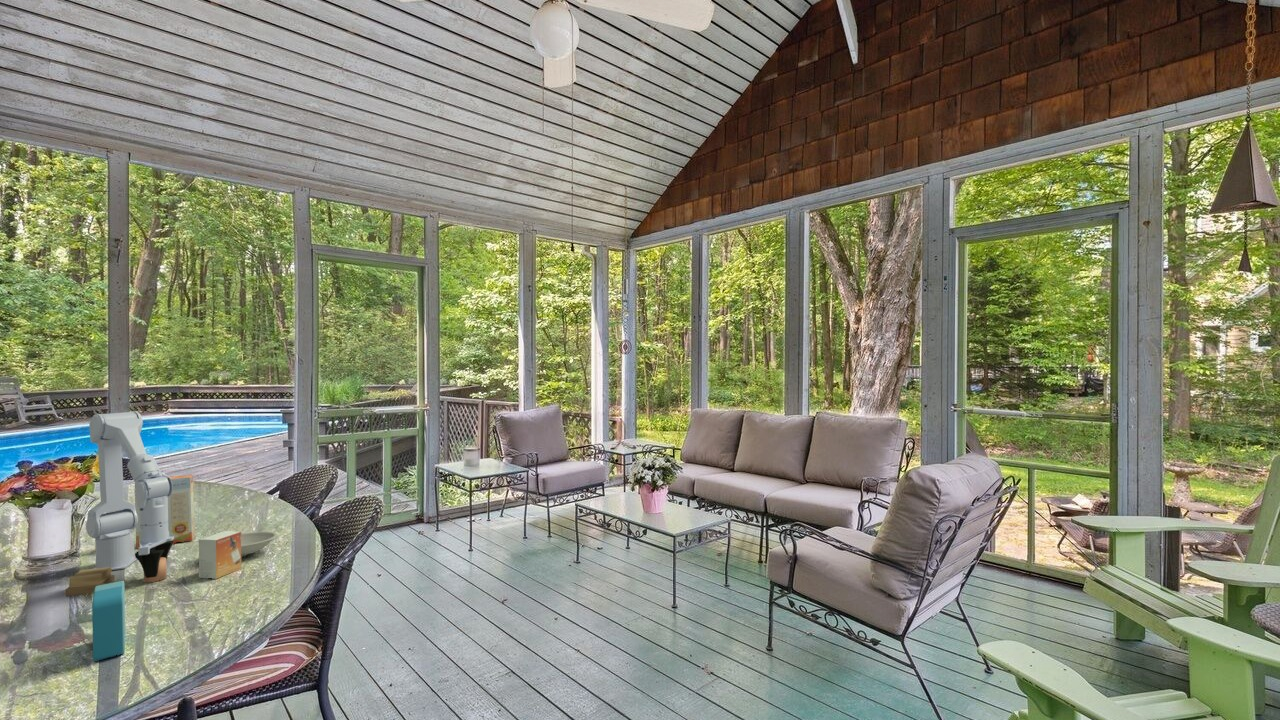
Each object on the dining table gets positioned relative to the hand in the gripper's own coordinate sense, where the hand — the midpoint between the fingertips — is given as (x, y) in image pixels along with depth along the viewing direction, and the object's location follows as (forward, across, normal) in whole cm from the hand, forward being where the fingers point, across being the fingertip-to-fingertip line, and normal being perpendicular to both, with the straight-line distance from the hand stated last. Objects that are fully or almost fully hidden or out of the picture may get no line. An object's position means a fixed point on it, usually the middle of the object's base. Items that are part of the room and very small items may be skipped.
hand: (155, 573), depth 153 cm
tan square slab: (+2, -1, +13) cm, 13 cm away
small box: (+2, -2, -15) cm, 15 cm away
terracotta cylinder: (+2, 0, 0) cm, 2 cm away
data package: (+2, -42, -6) cm, 42 cm away
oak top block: (0, -1, +13) cm, 13 cm away
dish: (+2, +12, -17) cm, 21 cm away
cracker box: (+2, +37, +9) cm, 38 cm away
